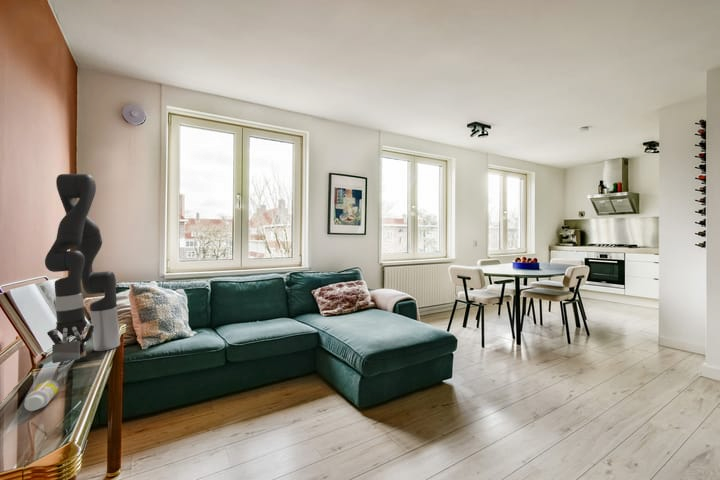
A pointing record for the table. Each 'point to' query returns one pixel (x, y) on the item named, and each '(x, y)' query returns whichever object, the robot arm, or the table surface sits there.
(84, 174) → the robot arm
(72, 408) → the table surface
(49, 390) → the supplement bottle
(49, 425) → the table surface
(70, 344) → the grey brown rectangular block
